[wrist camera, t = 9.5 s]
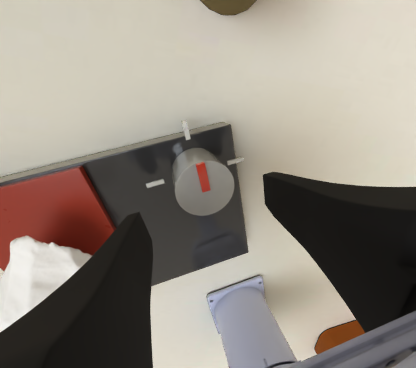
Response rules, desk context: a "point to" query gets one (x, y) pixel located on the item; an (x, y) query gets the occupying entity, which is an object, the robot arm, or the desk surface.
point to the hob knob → (201, 182)
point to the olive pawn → (228, 6)
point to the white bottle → (34, 275)
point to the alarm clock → (338, 336)
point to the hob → (164, 198)
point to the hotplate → (54, 212)
